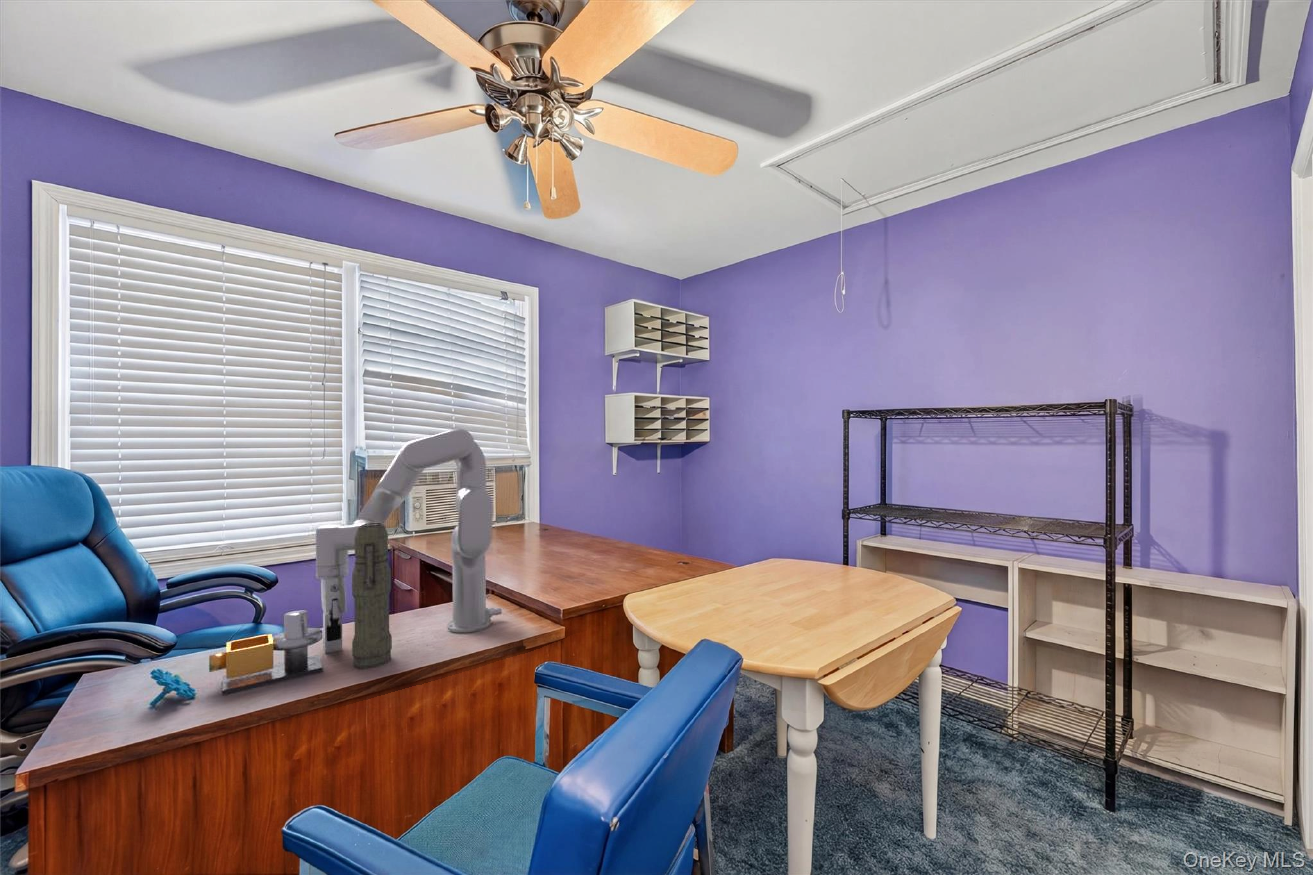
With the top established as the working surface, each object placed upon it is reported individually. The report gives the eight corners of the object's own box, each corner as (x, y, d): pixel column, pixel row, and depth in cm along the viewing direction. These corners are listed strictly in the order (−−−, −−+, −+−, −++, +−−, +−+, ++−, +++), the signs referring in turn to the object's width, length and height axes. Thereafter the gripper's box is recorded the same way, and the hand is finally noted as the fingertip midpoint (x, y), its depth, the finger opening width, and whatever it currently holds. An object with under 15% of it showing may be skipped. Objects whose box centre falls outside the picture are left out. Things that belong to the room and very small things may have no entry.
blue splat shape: (195, 697, 113) (151, 671, 110) (168, 724, 110) (122, 698, 107) (203, 685, 122) (162, 661, 119) (178, 710, 119) (136, 685, 116)
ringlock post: (319, 657, 138) (319, 603, 138) (325, 671, 129) (324, 614, 129) (210, 681, 124) (210, 622, 125) (208, 699, 116) (208, 635, 116)
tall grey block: (340, 645, 146) (339, 609, 147) (342, 649, 143) (342, 612, 143) (323, 648, 144) (323, 612, 144) (325, 653, 141) (324, 615, 141)
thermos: (390, 649, 142) (389, 520, 143) (393, 665, 132) (392, 525, 133) (352, 656, 138) (351, 522, 139) (352, 673, 128) (351, 528, 128)
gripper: (353, 573, 140) (353, 643, 139) (343, 562, 153) (343, 626, 153) (319, 578, 135) (320, 650, 135) (312, 567, 148) (312, 632, 148)
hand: (332, 636), depth 144 cm, fingers closed on tall grey block, 3 cm apart
